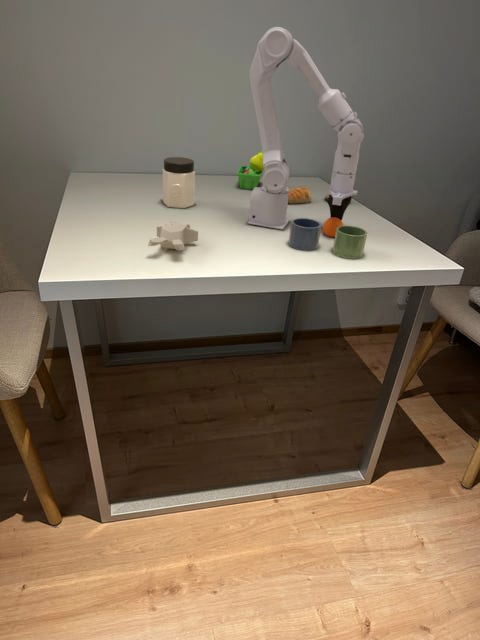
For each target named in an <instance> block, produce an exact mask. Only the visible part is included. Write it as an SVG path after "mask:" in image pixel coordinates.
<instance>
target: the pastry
mask: <svg viewBox="0 0 480 640" xmlns="http://www.w3.org/2000/svg"><path fill="white" fill-rule="evenodd" d="M310 201H312V195H311V192H310V189H308V188H307V187H296V188H291V189H289V197H288V204H290V205H294V204H297V205H298V204H307V203H310Z"/></svg>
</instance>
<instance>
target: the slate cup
mask: <svg viewBox="0 0 480 640" xmlns="http://www.w3.org/2000/svg"><path fill="white" fill-rule="evenodd" d="M322 225H323V224H322V223H321V222H320V221H318V220H316V219H312V218H307V217H299V218H298V217H297V218H293V219H291V221H290V228H289V237H288V245H289V246H290V247H291V248H293V249H295V250H300V251H306V252H307V251H314V250H317V249H318V248H319V243H320V237H321V231H322Z"/></svg>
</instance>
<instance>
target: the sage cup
mask: <svg viewBox="0 0 480 640" xmlns="http://www.w3.org/2000/svg"><path fill="white" fill-rule="evenodd" d="M367 236H368V231H367V230H366V229H364V228H363V227H359V226H355V225H348V224H347V225H345V224H343V226H339V227H337V229H336V234H335V237H334V240H333V245H332V253H333V254H334V255H335V256H337V257H340V258H343V259H349V260H357V259H360V258H362V257H363V255H364V250H365V246H366V242H367Z"/></svg>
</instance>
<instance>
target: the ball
mask: <svg viewBox="0 0 480 640" xmlns="http://www.w3.org/2000/svg"><path fill="white" fill-rule="evenodd" d="M339 226H344V222H343V220H342V221H341V220H340V219H339V218H336V217H331V218H330V217H329V218H327V219H326V220H325V221H324V223H323V227H322V230H323V232H324V234H325V235H326V236H328V237H330V238H335V234H336V229H337V227H339Z"/></svg>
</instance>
